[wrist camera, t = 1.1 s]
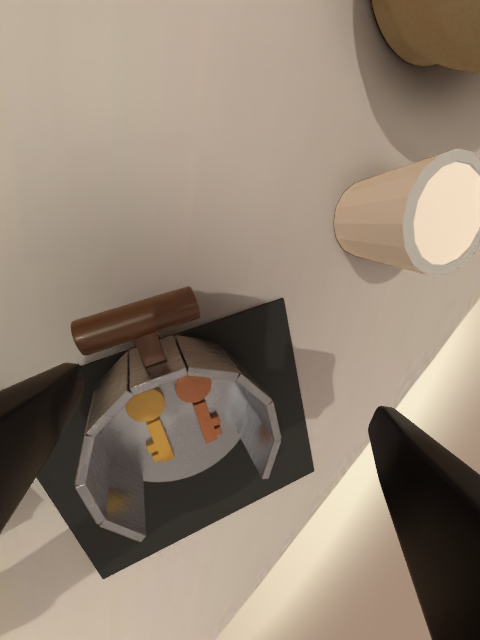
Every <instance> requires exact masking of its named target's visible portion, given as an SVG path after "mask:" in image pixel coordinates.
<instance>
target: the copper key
mask: <svg viewBox="0 0 480 640" xmlns="http://www.w3.org/2000/svg"><path fill="white" fill-rule="evenodd" d="M175 390H176V394H177V396H178V397H179V398H180V399H181V400H182V401H184V402H187V403H193V407H194V410H195V413H196V416H197V419H198V422H199V425H200V428H201V430H202V433H203V436H204V439H205V442H206V444H207V443H210V442H212V441H214V440H216V439H218V438H217V435H220V434H222V429H221V427H220V424H221V421H220V418H219V415H218V414H214V415H212V416H210V413H209V410H208V407H207V403H206V401H205V399H204V398H205V397H206V396H207V395H208V394H209V392H210V390H211V379H210V378H205V377H195V376H185V377H183V378H180V379H177V380H176V382H175Z"/></svg>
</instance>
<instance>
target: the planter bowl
mask: <svg viewBox="0 0 480 640" xmlns="http://www.w3.org/2000/svg"><path fill="white" fill-rule="evenodd" d="M372 5H373V9H374V13H375V17H376V20H377V23H378V25H379V27H380V30H381V32H382V34H383V36H384V38H385V40H386V41H387V43H388V44H389V46H390V47H391V48H392V49H393V50H394V52H395V53H396V54H398V55H399V56H400V57H401V58H402V59H404V60H405V61H407V62H409V63H411V64H414V65H419V66H431V65H435V64H439V65H441V66H444V67H448V68H451V69H455V70H460V71H466V72H474V73H480V0H372Z"/></svg>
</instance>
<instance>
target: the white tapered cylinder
mask: <svg viewBox="0 0 480 640" xmlns="http://www.w3.org/2000/svg"><path fill="white" fill-rule="evenodd" d="M334 228H335V234H336V239H337V240H338V242H339V243H340V245H341V247H342V248H343V249H344V250H345V251H347V252H349V253H350V254H352V255H354V256H358V257H362V258H366V259H369V260H373V261H377V262H381V263H384V264H388V265H392V266H396V267H399V268H403V269H407V270H411V271H414V272H418V273H422V274H426V275H445V274H447V273H449V272H451V271H453V270H455V269H457V268H459V267H460V266H461V265H462V264H463V263H464V262H465V261H466V260H467V259H468V258H469V257H470V256H471V255H472V254H473V253H474V252H475V250H476V248H477V246H478V244H479V243H480V158H479V157H478V156H477V155H476V154H475V153H474V152H471V151H467V150H462V149H458V148H456V149H453V150H450V151H448V152H445V153H442V154H439V155H436V156H433V157H430V158H427V159H424V160H421V161H418V162H415V163H412V164H409V165H407V166H404V167H401V168H398V169H395V170H392V171H389V172H386V173H383V174H380V175H377V176H374V177H371V178H368V179H366V180H363V181H360V182H357V183H355V184H353V185H352V186H351V187H350V188H349V189H348V190H347V191H346V192H345V193H343V195H342V197H341V199H340V201H339V203H338V205H337V207H336V211H335V218H334Z"/></svg>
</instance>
